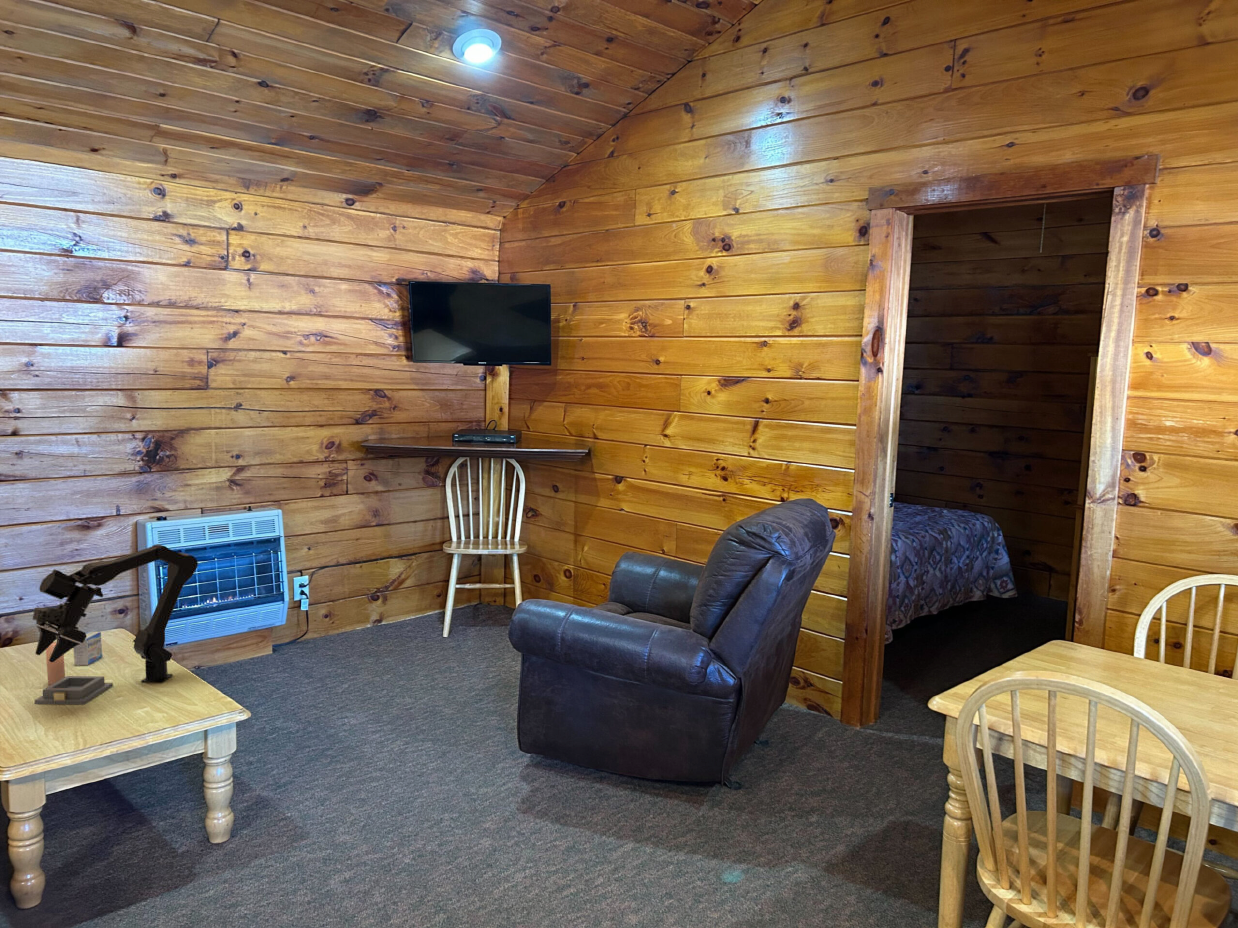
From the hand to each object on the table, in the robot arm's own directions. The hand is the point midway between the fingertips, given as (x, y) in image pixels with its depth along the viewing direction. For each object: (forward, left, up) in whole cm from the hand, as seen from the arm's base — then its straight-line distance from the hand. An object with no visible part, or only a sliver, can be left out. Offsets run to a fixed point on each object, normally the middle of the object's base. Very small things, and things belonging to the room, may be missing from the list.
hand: (43, 658), depth 244 cm
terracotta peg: (-20, -10, -15) cm, 26 cm away
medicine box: (-39, -12, -15) cm, 43 cm away
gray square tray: (-11, +1, -15) cm, 18 cm away
